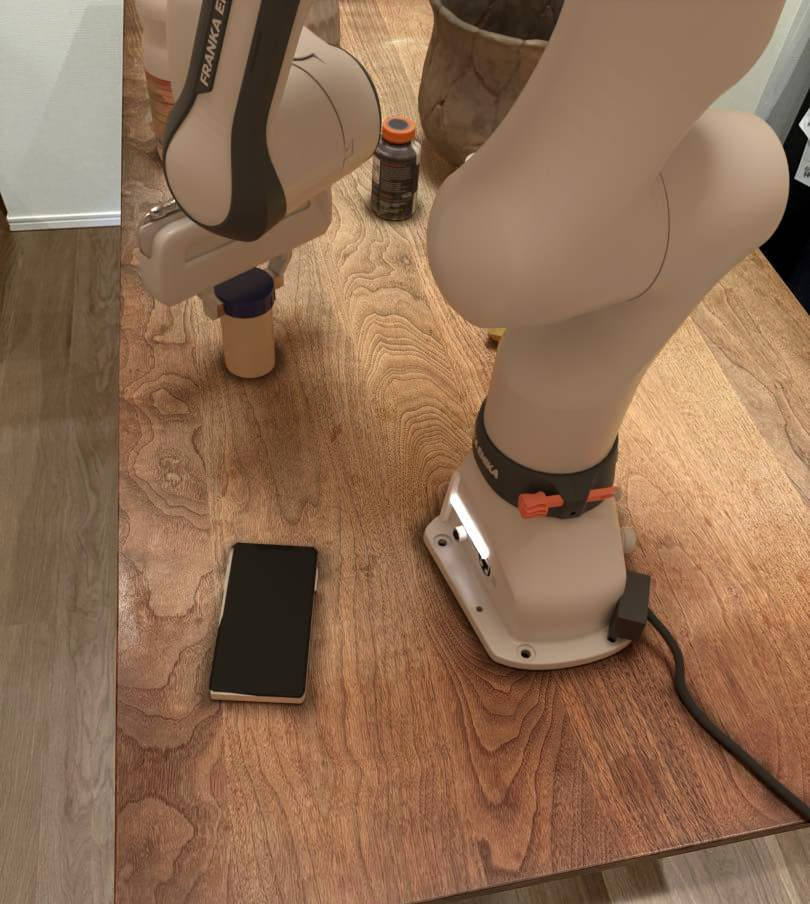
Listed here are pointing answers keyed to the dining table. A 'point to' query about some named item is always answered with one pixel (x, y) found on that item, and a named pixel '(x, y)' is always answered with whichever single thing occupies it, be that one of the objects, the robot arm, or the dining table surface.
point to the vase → (324, 21)
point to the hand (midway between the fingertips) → (245, 300)
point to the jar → (248, 344)
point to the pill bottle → (396, 170)
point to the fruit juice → (156, 63)
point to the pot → (479, 68)
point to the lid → (247, 294)
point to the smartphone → (265, 624)
